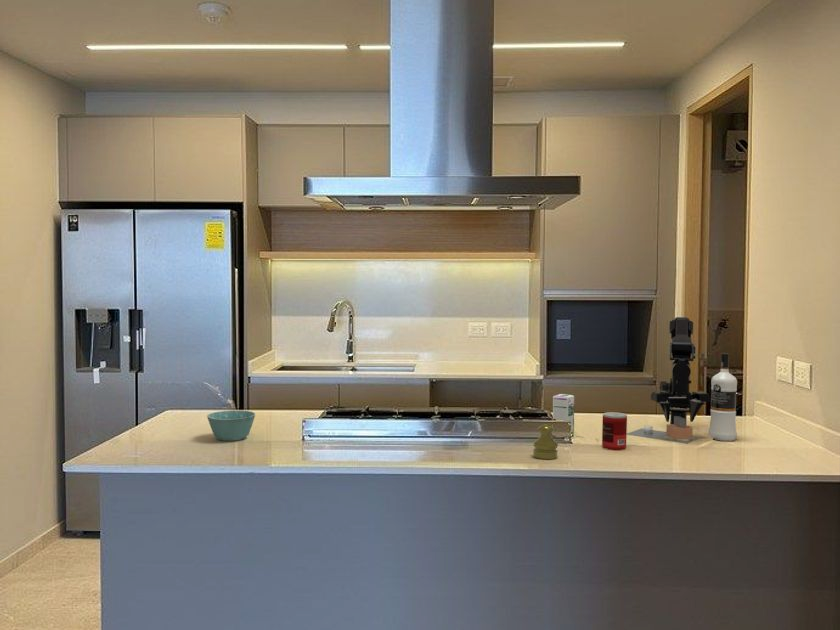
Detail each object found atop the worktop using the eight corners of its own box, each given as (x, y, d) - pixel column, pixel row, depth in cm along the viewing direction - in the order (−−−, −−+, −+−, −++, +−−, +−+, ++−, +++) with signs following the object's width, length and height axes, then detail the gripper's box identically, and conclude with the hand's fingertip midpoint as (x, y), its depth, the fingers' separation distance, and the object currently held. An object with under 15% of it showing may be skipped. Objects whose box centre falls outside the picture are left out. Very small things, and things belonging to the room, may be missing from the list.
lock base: (641, 431, 271) (641, 421, 271) (702, 440, 257) (702, 430, 257) (624, 437, 260) (625, 427, 260) (687, 446, 246) (687, 436, 246)
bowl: (220, 446, 238) (220, 420, 238) (199, 437, 250) (199, 413, 250) (263, 439, 248) (264, 415, 248) (241, 432, 260) (241, 408, 260)
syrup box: (567, 438, 256) (568, 396, 255) (551, 436, 259) (552, 395, 259) (574, 436, 261) (575, 394, 260) (558, 433, 264) (559, 393, 263)
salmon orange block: (684, 435, 258) (684, 415, 258) (692, 439, 252) (692, 419, 251) (666, 435, 258) (666, 415, 257) (674, 439, 251) (674, 419, 251)
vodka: (742, 440, 257) (745, 354, 255) (722, 442, 253) (725, 354, 252) (722, 435, 265) (725, 351, 264) (702, 437, 262) (704, 352, 260)
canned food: (628, 446, 245) (628, 413, 245) (623, 451, 238) (624, 417, 238) (604, 443, 249) (605, 411, 248) (599, 448, 241) (600, 415, 241)
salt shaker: (531, 453, 233) (532, 422, 232) (555, 454, 233) (556, 422, 232) (534, 459, 226) (535, 426, 225) (559, 460, 225) (559, 427, 225)
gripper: (696, 373, 263) (694, 417, 263) (645, 373, 261) (643, 417, 262) (711, 377, 252) (709, 423, 252) (658, 377, 250) (656, 423, 251)
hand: (679, 421), depth 255 cm, fingers open, 8 cm apart
